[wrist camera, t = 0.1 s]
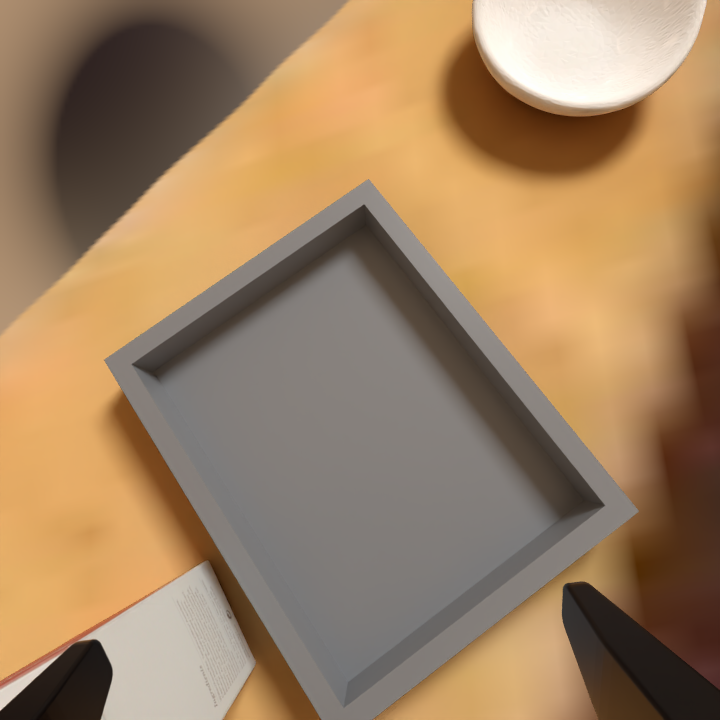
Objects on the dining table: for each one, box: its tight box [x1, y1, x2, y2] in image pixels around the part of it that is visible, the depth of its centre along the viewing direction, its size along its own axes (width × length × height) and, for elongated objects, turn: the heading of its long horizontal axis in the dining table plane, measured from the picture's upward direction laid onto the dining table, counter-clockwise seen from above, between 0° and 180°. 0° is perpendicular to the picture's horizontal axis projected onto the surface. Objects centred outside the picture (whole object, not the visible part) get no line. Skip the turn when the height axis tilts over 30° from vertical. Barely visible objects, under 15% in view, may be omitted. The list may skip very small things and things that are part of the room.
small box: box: [0, 560, 256, 720], centre depth 18 cm, size 8×6×10 cm
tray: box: [104, 179, 639, 720], centre depth 23 cm, size 20×16×3 cm
